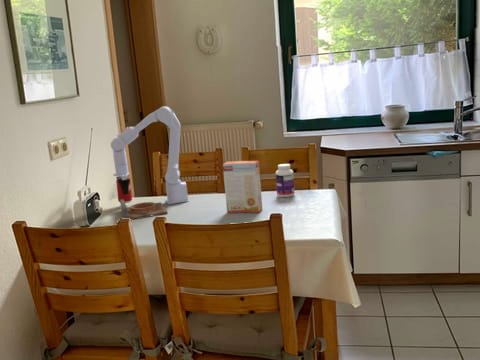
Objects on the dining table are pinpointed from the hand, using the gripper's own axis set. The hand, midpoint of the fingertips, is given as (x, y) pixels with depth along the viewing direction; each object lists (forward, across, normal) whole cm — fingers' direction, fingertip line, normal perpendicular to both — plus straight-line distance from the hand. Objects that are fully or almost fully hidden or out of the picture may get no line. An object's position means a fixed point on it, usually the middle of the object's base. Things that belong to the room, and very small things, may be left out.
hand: (125, 192), depth 234 cm
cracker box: (+7, +40, +45) cm, 61 cm away
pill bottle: (+7, +27, +69) cm, 74 cm away
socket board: (+6, +16, +6) cm, 18 cm away
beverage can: (+5, 0, 0) cm, 5 cm away
